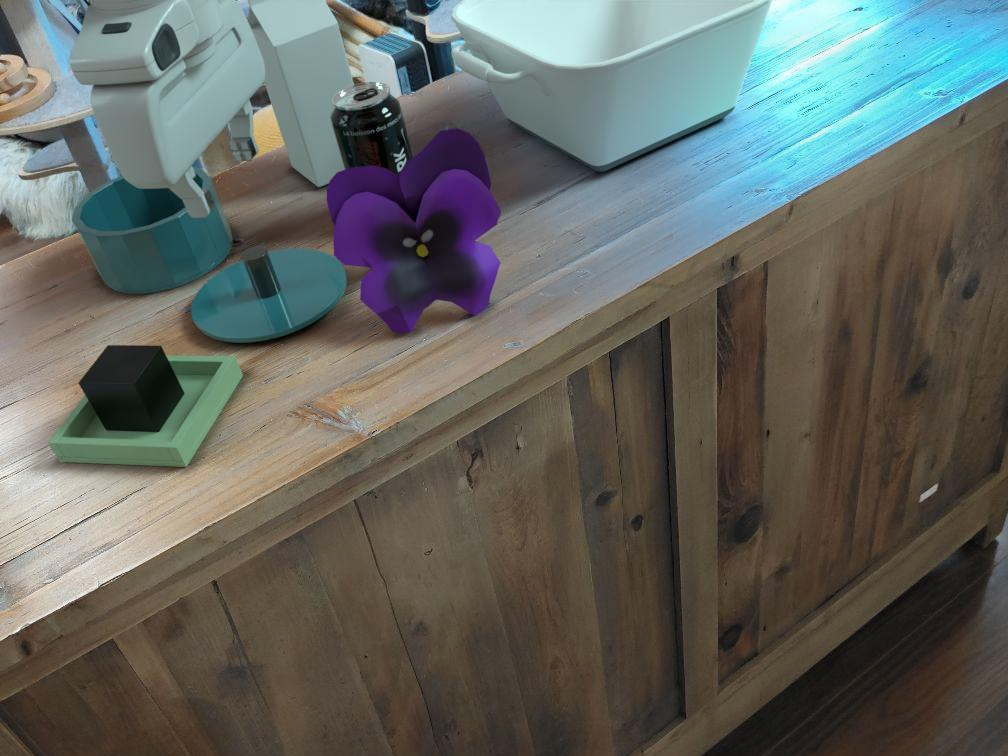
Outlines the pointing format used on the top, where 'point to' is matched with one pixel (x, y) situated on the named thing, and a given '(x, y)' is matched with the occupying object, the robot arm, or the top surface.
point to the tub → (610, 68)
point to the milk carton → (303, 79)
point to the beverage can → (370, 127)
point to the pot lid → (268, 294)
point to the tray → (179, 436)
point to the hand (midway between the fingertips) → (226, 184)
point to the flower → (419, 230)
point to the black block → (132, 388)
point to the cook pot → (150, 236)
